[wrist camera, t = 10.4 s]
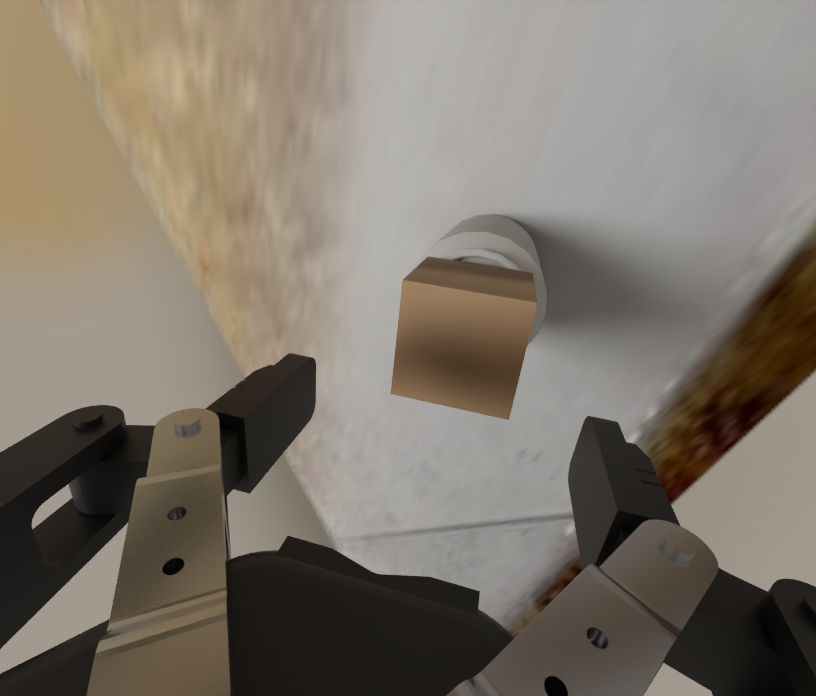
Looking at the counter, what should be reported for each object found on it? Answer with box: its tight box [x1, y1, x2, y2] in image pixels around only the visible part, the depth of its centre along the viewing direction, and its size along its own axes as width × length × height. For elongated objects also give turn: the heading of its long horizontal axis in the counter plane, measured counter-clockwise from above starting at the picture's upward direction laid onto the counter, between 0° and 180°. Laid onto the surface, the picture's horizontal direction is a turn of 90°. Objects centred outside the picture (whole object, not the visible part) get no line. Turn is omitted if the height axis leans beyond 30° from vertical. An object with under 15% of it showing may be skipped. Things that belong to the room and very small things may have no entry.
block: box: [391, 256, 537, 420], centre depth 19 cm, size 5×5×5 cm
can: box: [413, 215, 547, 346], centre depth 26 cm, size 8×8×12 cm
